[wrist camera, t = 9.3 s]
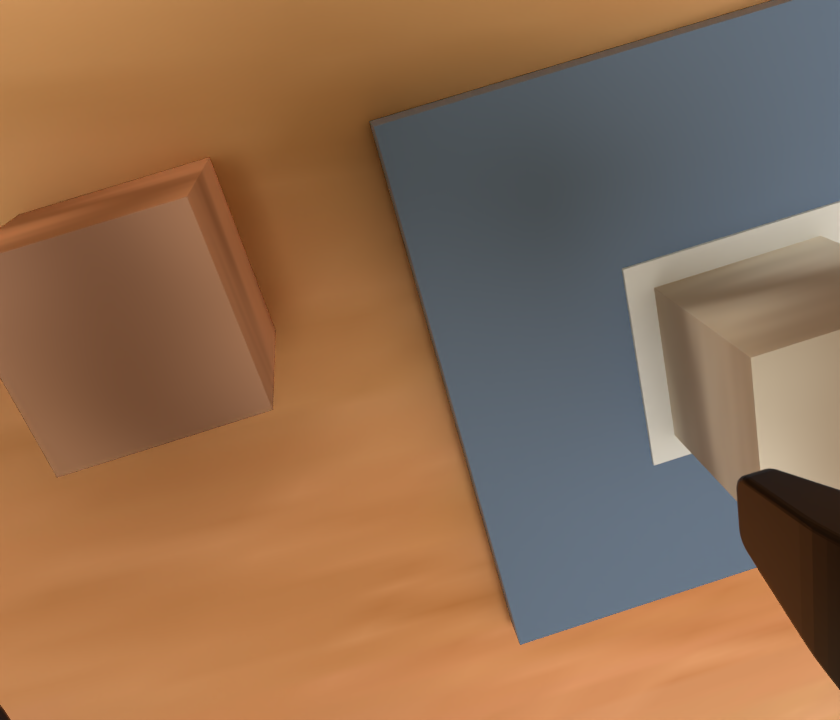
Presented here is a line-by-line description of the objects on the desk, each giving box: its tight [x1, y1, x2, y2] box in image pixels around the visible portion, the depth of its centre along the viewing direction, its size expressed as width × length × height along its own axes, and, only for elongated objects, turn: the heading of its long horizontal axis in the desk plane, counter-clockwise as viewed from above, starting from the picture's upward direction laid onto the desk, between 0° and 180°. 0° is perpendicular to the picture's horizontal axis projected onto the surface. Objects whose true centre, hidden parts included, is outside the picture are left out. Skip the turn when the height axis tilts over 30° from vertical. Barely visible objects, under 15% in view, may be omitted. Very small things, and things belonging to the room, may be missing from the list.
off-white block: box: [654, 236, 840, 501], centre depth 19 cm, size 4×4×4 cm
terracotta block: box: [0, 157, 276, 477], centre depth 17 cm, size 4×4×4 cm
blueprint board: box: [369, 0, 840, 645], centre depth 21 cm, size 16×16×1 cm
